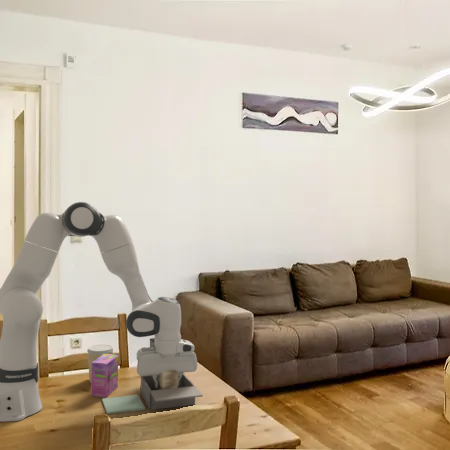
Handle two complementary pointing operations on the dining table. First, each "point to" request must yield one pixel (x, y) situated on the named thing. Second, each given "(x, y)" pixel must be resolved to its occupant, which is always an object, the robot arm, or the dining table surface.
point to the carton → (168, 393)
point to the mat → (123, 404)
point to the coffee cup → (97, 354)
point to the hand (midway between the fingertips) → (166, 386)
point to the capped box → (168, 379)
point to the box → (104, 375)
